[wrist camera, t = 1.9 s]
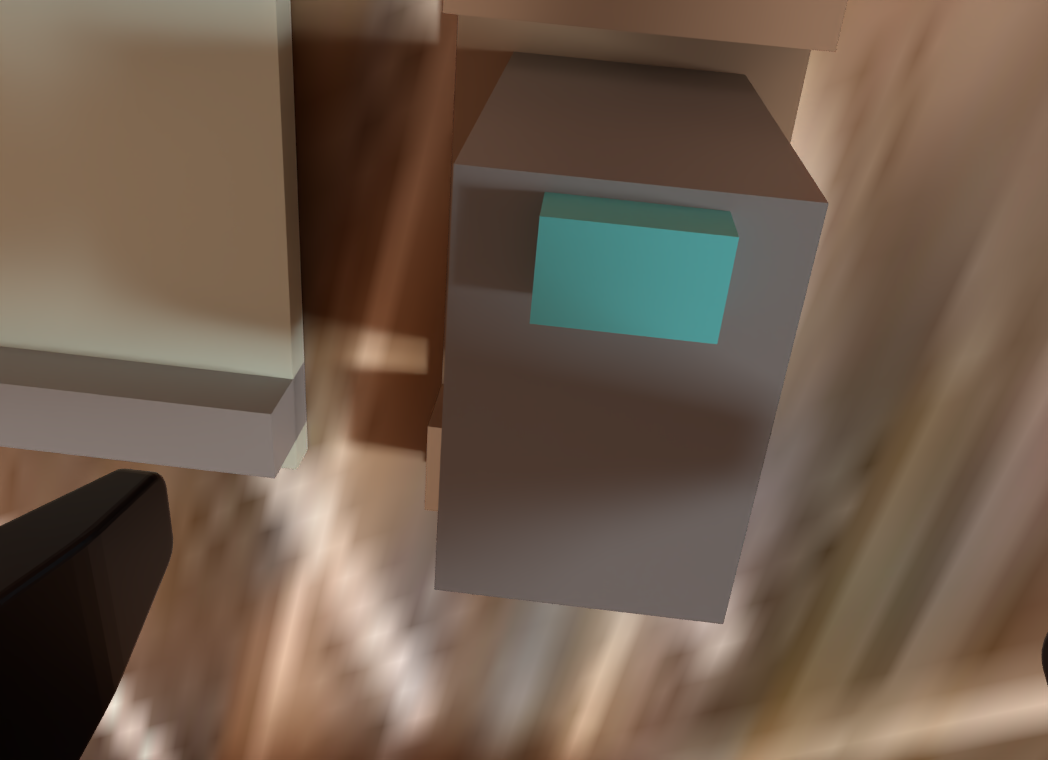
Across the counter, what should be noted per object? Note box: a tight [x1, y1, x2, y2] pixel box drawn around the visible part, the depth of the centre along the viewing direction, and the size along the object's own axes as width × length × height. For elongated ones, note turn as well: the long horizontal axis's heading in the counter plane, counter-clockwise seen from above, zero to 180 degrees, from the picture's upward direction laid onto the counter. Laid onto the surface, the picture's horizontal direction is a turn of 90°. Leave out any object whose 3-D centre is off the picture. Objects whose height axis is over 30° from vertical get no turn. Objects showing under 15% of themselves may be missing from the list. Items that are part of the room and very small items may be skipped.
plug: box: [434, 52, 828, 624], centre depth 14 cm, size 4×6×8 cm, turn 176°
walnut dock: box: [425, 0, 848, 511], centre depth 17 cm, size 6×12×2 cm, turn 176°
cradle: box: [0, 0, 308, 478], centre depth 17 cm, size 8×12×2 cm, turn 176°
